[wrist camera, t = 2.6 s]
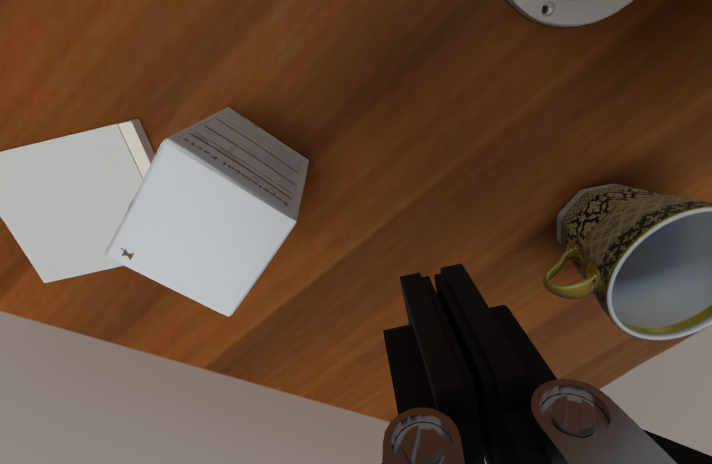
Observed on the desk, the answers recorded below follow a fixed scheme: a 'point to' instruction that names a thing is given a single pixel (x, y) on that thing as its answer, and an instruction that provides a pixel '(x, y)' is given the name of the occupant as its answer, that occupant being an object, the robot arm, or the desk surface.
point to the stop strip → (138, 144)
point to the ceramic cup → (639, 258)
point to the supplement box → (212, 210)
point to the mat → (68, 199)
